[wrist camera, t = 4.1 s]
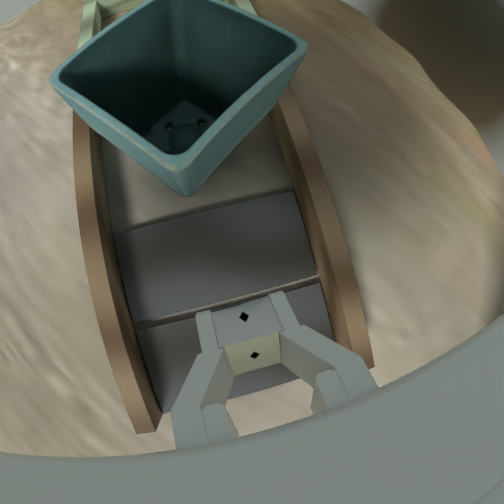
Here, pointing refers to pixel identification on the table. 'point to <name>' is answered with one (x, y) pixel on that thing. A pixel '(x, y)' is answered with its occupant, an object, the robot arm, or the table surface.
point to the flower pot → (180, 83)
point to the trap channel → (210, 261)
